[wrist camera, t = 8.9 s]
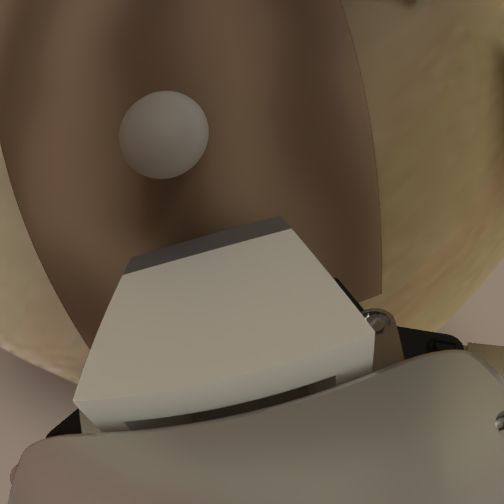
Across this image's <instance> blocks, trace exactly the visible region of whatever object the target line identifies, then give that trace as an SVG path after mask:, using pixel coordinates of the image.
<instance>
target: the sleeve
mask: <svg viewBox="0 0 504 504" xmlns="http://www.w3.org/2000/svg"><path fill="white" fill-rule="evenodd" d="M374 342H375V331H374V330H373V328H372V327H371V326H370V324H369V323H368V322H367V320H366V319H365V318H364V317H363V315H362V314H361V313H360V311H359V310H358V309H357V308H356V306H355V305H354V304H353V303H352V301H351V300H350V299H349V298H348V296H347V295H346V294H345V292H344V291H343V290H342V289H341V287H340V286H339V285H338V284H337V283H336V281H335V280H334V279H333V278H332V276H331V275H330V274H329V273H328V271H327V270H326V269H325V268H324V267H323V265H322V264H321V263H320V262H319V260H318V259H317V258H316V257H315V256H314V254H313V253H312V252H311V251H310V250H309V248H308V247H307V246H306V245H305V244H304V242H303V241H302V240H301V239H300V238H299V237H298V235H297V234H296V233H295V232H294V231H293V230H292V228H291V227H290V226H289V225H288V224H287V222H286V221H285V220H284V219H283V218H282V217H281V216H277V217H273V218H269V219H265V220H262V221H258V222H254V223H250V224H247V225H243V226H239V227H236V228H232V229H228V230H224V231H221V232H217V233H214V234H210V235H206V236H203V237H199V238H196V239H192V240H189V241H185V242H182V243H178V244H175V245H171V246H168V247H164V248H161V249H157V250H154V251H151V252H147V253H144V254H140V255H137V256H134V257H131V259H130V261H129V263H128V265H127V267H126V269H125V271H124V273H123V275H122V277H121V279H120V281H119V284H118V286H117V288H116V290H115V292H114V294H113V297H112V299H111V301H110V303H109V306H108V308H107V310H106V313H105V315H104V317H103V320H102V322H101V324H100V327H99V329H98V332H97V334H96V337H95V339H94V342H93V344H92V347H91V349H90V352H89V355H88V357H87V360H86V363H85V366H84V368H83V371H82V374H81V377H80V380H79V383H78V386H77V389H76V392H75V395H74V398H73V402H74V404H75V405H76V406H77V407H78V408H79V409H80V410H81V411H82V412H83V413H84V414H85V415H86V417H87V418H88V419H89V420H90V421H91V422H92V423H93V424H94V425H95V426H96V427H97V428H99V429H100V430H101V431H102V432H103V433H106V432H121V431H135V430H146V429H155V428H164V427H171V426H178V425H185V424H192V423H198V422H204V421H209V420H214V419H220V418H224V417H229V416H234V415H239V414H243V413H247V412H251V411H256V410H260V409H263V408H267V407H271V406H275V405H279V404H282V403H286V402H289V401H293V400H296V399H299V398H302V397H306V396H309V395H312V394H315V393H318V392H321V391H324V390H327V389H330V388H333V387H335V386H338V385H341V384H344V383H347V382H349V381H352V380H355V379H358V378H360V377H363V376H365V375H368V374H370V373H372V366H373V355H374Z"/></svg>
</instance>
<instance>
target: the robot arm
mask: <svg viewBox="0 0 504 504" xmlns="http://www.w3.org/2000/svg"><path fill="white" fill-rule="evenodd" d="M333 279H334V280H335V281H336V283H337V284H338V285H339V286H340V287H341V289H342V290H343V291H344V292H345V294H346V295H347V296H348V298H349V299H350V300H351V301H352V303H353V304H354V305H355V306H356V308H357V309H358V310H359V311H360V313H361V314H362V315H363V317H364V318H365V319H366V320H367V322H368V323H369V324H370V326H371V327H372V328H373V330H374V331H375V342H374V355H373V366H372V373H370V374H368V375H365V376H363V377H360V378H358V379H355V380H352V381H349V382H347V383H344V384H341V385H338V386H335V387H333V388H330V389H327V390H324V391H321V392H318V393H315V394H312V395H309V396H306V397H302V398H299V399H296V400H293V401H289V402H286V403H282V404H279V405H275V406H271V407H267V408H263V409H260V410H256V411H251V412H247V413H243V414H239V415H234V416H229V417H224V418H220V419H214V420H209V421H204V422H198V423H192V424H185V425H178V426H171V427H164V428H155V429H146V430H135V431H121V432H106V433H103V432H102V431H101V430H100V429H99V428H97V427H96V426H95V425H94V424H93V423H92V422H91V421H90V420H89V419H88V418H87V417H86V415H85V414H84V413H83V412H82V411H81V410H80V409H79V408H78V409H77V410H76V411H74V412H73V413H72V414H71V415H70V416H68V417H67V418H66V419H65V420H64V421H62V422H61V423H60V424H59V425H58V426H56V427H55V428H54V429H53V430H52V431H50V433H49V434H48V435H47V437H46V438H45V439H43V440H40V441H38V442H35V443H33V444H32V445H30V446H29V447H27V448H26V449H25V451H24V452H23V454H22V456H21V458H20V460H19V463H18V464H17V465H16V466H15V467H14V468H13V469H12V471H11V474H10V481H11V484H12V486H11V490H10V495H9V500H8V504H504V346H496V345H486V344H477V343H468V345H467V346H464V345H462V343H461V342H460V341H459V340H458V339H457V338H455V337H453V336H451V335H447V334H441V333H435V332H429V331H422V330H416V329H410V328H404V327H398V326H397V325H396V321H395V319H394V317H393V315H392V314H390V313H389V312H387V311H385V310H382V309H367V310H363V308H362V307H361V306H360V305H359V303H358V302H357V301H356V300H355V298H354V297H353V296H352V295H351V294H350V292H349V291H348V290H347V289H346V287H345V286H344V285H343V284H342V283H341V281H340V280H339V279H338V278H333Z"/></svg>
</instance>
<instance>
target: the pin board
mask: <svg viewBox="0 0 504 504" xmlns="http://www.w3.org/2000/svg"><path fill="white" fill-rule="evenodd" d="M0 143H1V147H2V152H3V156H4V160H5V164H6V168H7V171H8V175H9V178H10V182H11V185H12V188H13V191H14V195H15V198H16V201H17V204H18V207H19V209H20V212H21V215H22V218H23V220H24V223H25V226H26V228H27V231H28V233H29V236H30V238H31V241H32V243H33V245H34V248H35V250H36V252H37V255H38V257H39V259H40V261H41V263H42V265H43V268H44V270H45V272H46V274H47V276H48V278H49V280H50V282H51V284H52V286H53V288H54V290H55V292H56V293H57V295H58V297H59V299H60V301H61V303H62V304H63V306H64V308H65V310H66V312H67V313H68V315H69V317H70V318H71V320H72V322H73V323H74V325H75V327H76V328H77V330H78V332H79V333H80V335H81V336H82V338H83V340H84V341H85V343H86V344H87V346H88V347H89V349H91V347H92V344H93V342H94V339H95V337H96V334H97V332H98V329H99V327H100V324H101V322H102V320H103V317H104V315H105V313H106V310H107V308H108V306H109V303H110V301H111V299H112V297H113V294H114V292H115V290H116V288H117V286H118V284H119V281H120V279H121V277H122V275H123V273H124V271H125V269H126V267H127V265H128V263H129V261H130V259H131V257H134V256H137V255H140V254H144V253H147V252H151V251H154V250H157V249H161V248H164V247H168V246H171V245H175V244H178V243H182V242H185V241H189V240H192V239H196V238H199V237H203V236H206V235H210V234H214V233H217V232H221V231H224V230H228V229H232V228H236V227H239V226H243V225H247V224H250V223H254V222H258V221H262V220H265V219H269V218H273V217H277V216H281V217H282V218H283V219H284V220H285V221H286V222H287V224H288V225H289V226H290V227H291V228H292V230H293V231H294V232H295V233H296V234H297V235H298V237H299V238H300V239H301V240H302V241H303V242H304V244H305V245H306V246H307V247H308V248H309V250H310V251H311V252H312V253H313V254H314V256H315V257H316V258H317V259H318V260H319V262H320V263H321V264H322V265H323V267H324V268H325V269H326V270H327V271H328V273H329V274H330V275H331V276H332V278H338V279H339V280H340V281H341V283H342V284H343V285H344V286H345V287H346V289H347V290H348V291H349V292H350V294H351V295H352V296H353V297H354V298H355V300H356V301H357V302H360V301H363V300H366V299H369V298H371V297H374V296H377V295H379V294H382V239H381V216H380V201H379V188H378V177H377V168H376V159H375V151H374V144H373V137H372V130H371V124H370V118H369V112H368V106H367V101H366V96H365V91H364V86H363V81H362V77H361V72H360V68H359V64H358V60H357V56H356V52H355V48H354V44H353V41H352V37H351V34H350V30H349V27H348V23H347V20H346V17H345V14H344V11H343V8H342V5H341V2H340V0H0Z"/></svg>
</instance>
